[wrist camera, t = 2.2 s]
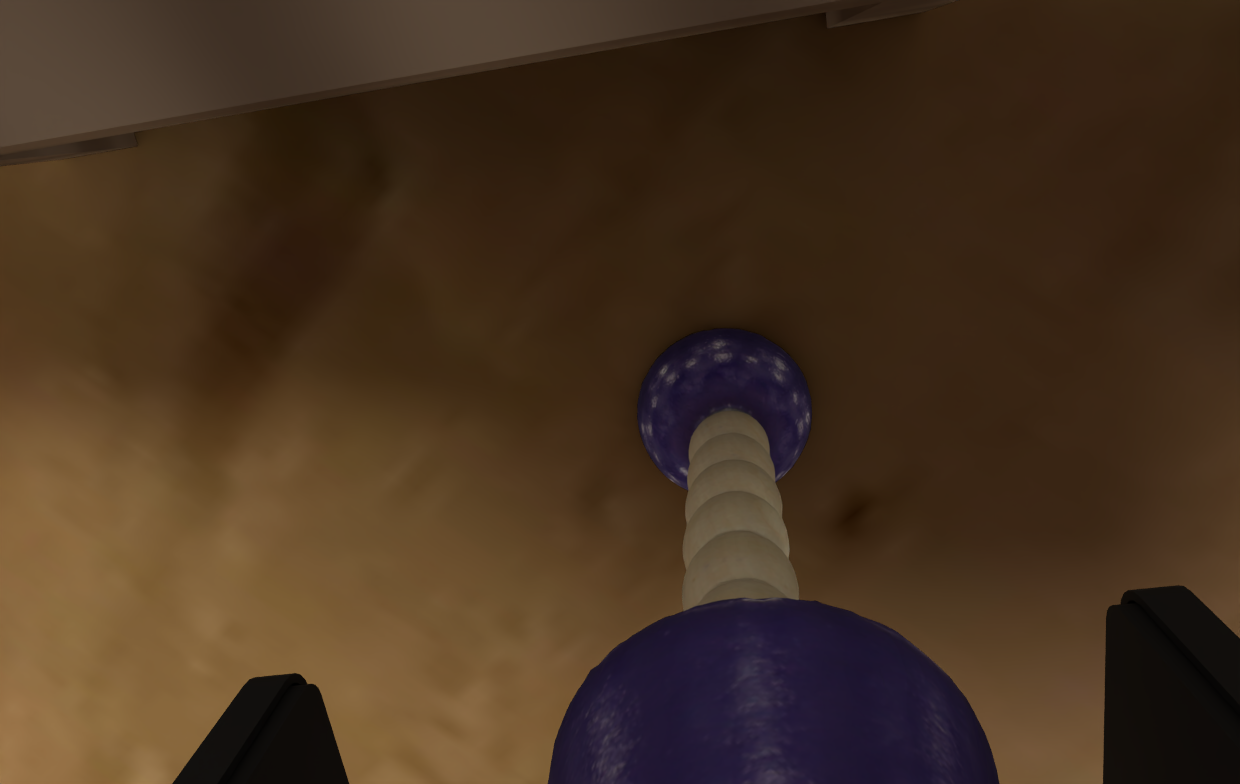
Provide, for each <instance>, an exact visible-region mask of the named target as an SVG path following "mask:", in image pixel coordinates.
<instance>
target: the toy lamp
mask: <svg viewBox="0 0 1240 784" xmlns="http://www.w3.org/2000/svg"><path fill="white" fill-rule="evenodd" d="M637 408H638V413H637V419H638V426H639V431H640V435H641V438H642V441H643V444H644V446H645V448H646V450H647V452H648V454H649V456H650V458H651V459H652V461H653V462H654V463H655V465H656V466H657V467H658V469H659V470H660V471H661V472H662V473H663V474H664V475H665V476H666V477H667V478H669V479H670V480H671V481H672V482H674V483H676V484H677V485H679V486H680V487H682V488H684V489H686V490H688V495H687V499H686V504H685V517H686V522H687V527H686V531H685V535H684V539H683V559H684V563H685V567H686V573H685V576H684V581H683V586H682V602H683V612H680V613H678V614H675V615H672V616H668V617H665V618H663V619H661V620H658V621H657V622H655V623H653V624H651V625H649V626H648V627H646V628H644V629H643V630H641V631H640V632H638V633H636V634H634V635H632V636H631V637H630V638H629V639H628V640H626V641H624V642H622V643H620V644H619V645H618V646H617V647H615V648H614V649H613V650H612V651H611V652H610V653H609V654H608V655H607V656H606V657H605V658H604V659H603V661H602V662H601V663H600V664H599V665H598V666H596V667H595V668H593V669H592V670H590V672H589V674H588V676H587V677H586V679H585V681H584V682H583V684H582V685H581V687H580V688H579V689H578V691H577V693H576V694H575V696H574V698H573V699H572V701H571V703H570V705H569V707H568V709H567V711H566V714H565V716H564V719H563V721H562V724H561V726H560V729H559V731H558V734H557V737H556V740H555V743H554V749H553V755H552V761H551V767H550V774H549V780H548V784H999V780H998V774H997V770H996V766H995V762H994V759H993V755H992V751H991V748H990V746H989V743H988V740H987V738H986V735H985V733H984V731H983V729H982V727H981V725H980V723H979V721H978V719H977V717H976V715H975V713H974V711H973V709H972V708H971V706H970V704H969V702H968V701H967V699H966V697H965V696H964V695H963V694H962V692H961V691H960V690H959V689H958V687H957V686H956V685H955V683H954V682H953V681H952V679H951V678H950V677H949V676H948V675H947V674H946V673H945V672H944V671H943V670H942V669H941V668H940V667H939V666H938V665H937V664H935V663H934V662H933V661H932V660H931V659H930V658H929V657H927V656H926V655H925V654H924V653H923V652H922V651H920V650H919V649H918V648H917V647H915V646H914V645H913V644H912V643H910V642H909V641H908V640H907V639H905V638H904V637H903V636H902V635H900V634H899V633H898V632H896V631H895V630H893V629H891V628H889V627H887V626H885V625H883V624H881V623H878V622H876V621H873V620H870V619H867V618H864V617H861V616H859V615H857V614H855V613H853V612H852V611H848V610H844V609H840V608H837V607H833V606H829V605H826V604H822V603H820V602H818V601H805V600H799V586H798V582H797V578H796V574H795V571H794V569H793V566H792V564H791V562H790V560H789V551H790V549H789V538H788V534H787V529H786V527H785V524H784V522H783V519H782V500H781V495H780V492H779V490H778V487H777V485H776V482H777V481H778V480H779V479H781V478H782V477H783V476H784V475H785V474H786V473H787V472H788V471H789V470H790V469H791V468H792V467H793V466H794V464H795V462H796V461H797V459H798V458H799V456H800V455H801V452H802V450H803V448H804V446H805V444H806V442H807V439H808V436H809V432H810V430H811V419H812V407H811V396H810V393H809V389H808V386H807V382H806V380H805V378H804V376H803V373H802V372H801V370H800V368H799V367H798V365H797V364H796V363H795V362H794V360H793V359H792V358H791V357H790V356H789V355H788V354H787V353H786V352H785V351H784V350H783V349H782V348H780V347H779V346H777V345H776V344H774V343H772V342H771V341H769V340H767V339H766V338H765V337H763V336H761V335H758V334H755V333H751V332H748V331H745V330H741V329H725V328H721V329H713V330H709V331H701V332H697V333H694V334H691V335H689V336H687V337H685V338H684V339H682V340H679V341H677V342H676V343H674V344H673V345H672V346H670V347H669V348H667V350H666V351H665V352H664V353H663V354H662V355H660V356H659V357H658V358H657V359H656V361H655V362H654V364H653V365H652V366H651V368H650V370H649V372H648V374H647V375H646V377H645V379H644V381H643V383H642V386H641V390H640V394H639V398H638V405H637Z"/></svg>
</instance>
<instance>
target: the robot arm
mask: <svg viewBox="0 0 1240 784" xmlns="http://www.w3.org/2000/svg"><path fill="white" fill-rule="evenodd" d="M173 784H349V782H348V778H347V775H346V772H345V769H344V766H343V763H342V759H341V756H340V753H339V750H338V747H337V743H336V740H335V737H334V734H333V731H332V727H331V724H330V721H329V718H328V715H327V711H326V708H325V705H324V702H323V699H322V695H321V693H320V691H319V688H318V687H317V686H316V685H314V684H307V682H306V680H305V679H304V678H303V677H302V676H301V675H300V674H296V673H294V674H284V675H274V676H264V677H255V678H252V679H250V680H249V681H248V682H247V683H246V684H245V685H244V686H243V687H242V689H241V690H240V691H239V693H238V694H237V696H236V697H235V698H234V700H233V701H232V702H231V704H230V705H229V707H228V708H227V709H226V711H225V712H224V713H223V715H222V716H221V718H220V719H219V720H218V722H217V723H216V724H215V726H214V727H213V729H212V730H211V731H210V733H209V734H208V735H207V737H206V738H205V740H204V741H203V742H202V744H201V745H200V746H199V748H198V749H197V751H196V752H195V753H194V755H193V756H192V757H191V759H190V760H189V762H188V763H187V764H186V766H185V767H184V768H183V770H182V771H181V773H180V774H179V775H178V777H177V778H176V779H175V781H174V782H173ZM1103 784H1240V638H1239V637H1238V636H1237V635H1236V634H1235V633H1233V632H1232V631H1231V630H1230V629H1229V628H1228V627H1227V626H1226V625H1225V624H1224V623H1223V622H1222V621H1221V620H1220V619H1219V618H1218V617H1217V616H1216V615H1215V614H1214V613H1213V612H1212V611H1211V610H1210V609H1209V608H1208V607H1207V606H1206V605H1205V604H1204V603H1203V602H1201V601H1200V600H1199V599H1198V598H1197V597H1196V596H1195V595H1194V594H1193V593H1192V592H1191V591H1190V590H1188V589H1187V588H1186V587H1184V586H1168V587H1157V588H1147V589H1137V590H1128V591H1127V592H1125V593H1124V594H1123V597H1122V599H1121V605H1112V606H1110V607H1109V608H1108V611H1107V616H1106V657H1105V711H1104V764H1103Z"/></svg>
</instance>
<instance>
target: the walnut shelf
mask: <svg viewBox="0 0 1240 784" xmlns="http://www.w3.org/2000/svg"><path fill="white" fill-rule="evenodd" d="M955 1H958V0H0V166H7V165H16V164H25V163H34V162H43V161H52V160H61V159H67V158H73V157H79V156H85V155H90V154H96V153H102V152H108V151H114V150H120V149H126V148H131V147H137V146H138V145H137V141H136V138H135V135H134V132H138V131H144V130H149V129H155V128H161V127H167V126H173V125H178V124H184V123H190V122H196V121H201V120H207V119H213V118H219V117H224V116H230V115H236V114H242V113H247V112H253V111H259V110H265V109H271V108H276V107H282V106H288V105H294V104H299V103H305V102H311V101H317V100H322V99H328V98H334V97H340V96H346V95H351V94H357V93H363V92H369V91H374V90H380V89H386V88H392V87H397V86H403V85H409V84H415V83H420V82H426V81H432V80H438V79H444V78H449V77H455V76H461V75H467V74H472V73H478V72H484V71H490V70H495V69H501V68H507V67H513V66H519V65H524V64H530V63H536V62H542V61H547V60H553V59H559V58H565V57H570V56H576V55H582V54H588V53H593V52H599V51H605V50H611V49H617V48H622V47H628V46H634V45H640V44H645V43H651V42H657V41H663V40H668V39H674V38H680V37H686V36H692V35H697V34H703V33H709V32H715V31H720V30H726V29H732V28H738V27H743V26H749V25H755V24H761V23H766V22H772V21H778V20H784V19H790V18H795V17H801V16H807V15H813V14H818V13H824V12H826V20H827V28H833V27H839V26H845V25H851V24H857V23H862V22H868V21H874V20H880V19H886V18H892V17H898V16H903V15H909V14H915V13H921V12H926V11H928V10H931V9H934V8H937V7H940V6H943V5H946V4H949V3H952V2H955Z"/></svg>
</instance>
